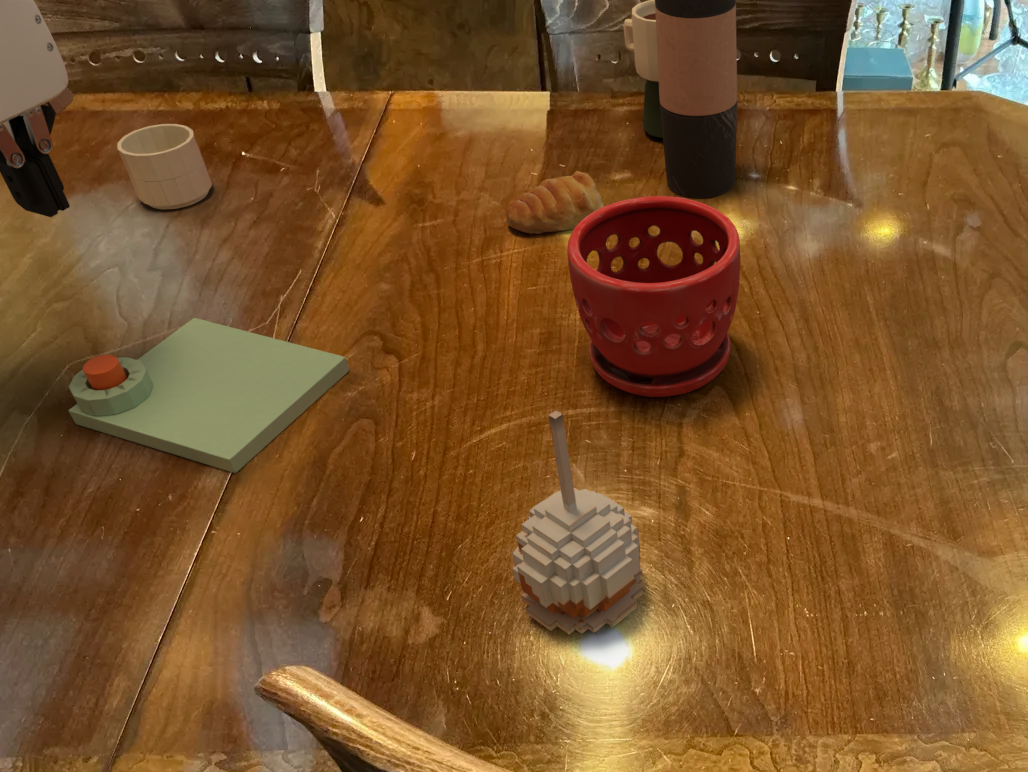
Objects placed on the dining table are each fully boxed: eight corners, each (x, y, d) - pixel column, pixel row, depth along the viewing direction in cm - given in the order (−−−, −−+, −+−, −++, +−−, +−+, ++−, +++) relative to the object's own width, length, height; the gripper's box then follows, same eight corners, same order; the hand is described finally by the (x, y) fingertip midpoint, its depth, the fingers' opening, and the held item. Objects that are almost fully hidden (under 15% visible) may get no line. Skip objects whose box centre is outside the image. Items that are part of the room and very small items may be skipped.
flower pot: (551, 362, 90) (531, 232, 81) (675, 305, 96) (668, 177, 87) (646, 437, 82) (635, 302, 74) (773, 370, 88) (776, 238, 80)
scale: (68, 422, 85) (51, 391, 83) (193, 329, 94) (180, 299, 92) (235, 473, 80) (221, 442, 78) (350, 370, 89) (340, 340, 87)
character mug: (729, 130, 121) (727, 7, 112) (694, 154, 117) (689, 29, 107) (649, 109, 125) (642, -10, 116) (613, 132, 121) (602, 10, 112)
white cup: (125, 204, 111) (101, 148, 107) (175, 174, 115) (154, 119, 111) (180, 217, 109) (157, 160, 104) (228, 185, 113) (208, 130, 109)
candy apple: (586, 535, 75) (559, 357, 64) (667, 588, 71) (652, 409, 61) (500, 599, 71) (457, 420, 60) (582, 658, 67) (550, 479, 57)
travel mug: (706, 158, 116) (700, -44, 102) (752, 183, 112) (753, -24, 97) (649, 180, 112) (635, -26, 98) (695, 207, 108) (687, -5, 94)
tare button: (84, 388, 84) (74, 369, 83) (109, 369, 86) (100, 351, 84) (109, 395, 83) (100, 377, 82) (134, 376, 85) (125, 358, 84)
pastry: (524, 247, 103) (518, 210, 101) (496, 218, 107) (490, 182, 105) (611, 220, 107) (607, 184, 104) (581, 193, 111) (576, 158, 108)
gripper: (-25, -106, 72) (90, 157, 85) (-248, -39, 62) (-79, 246, 75) (55, -93, 70) (161, 175, 83) (-164, -22, 60) (-4, 269, 73)
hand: (46, 208), depth 79 cm, fingers closed
